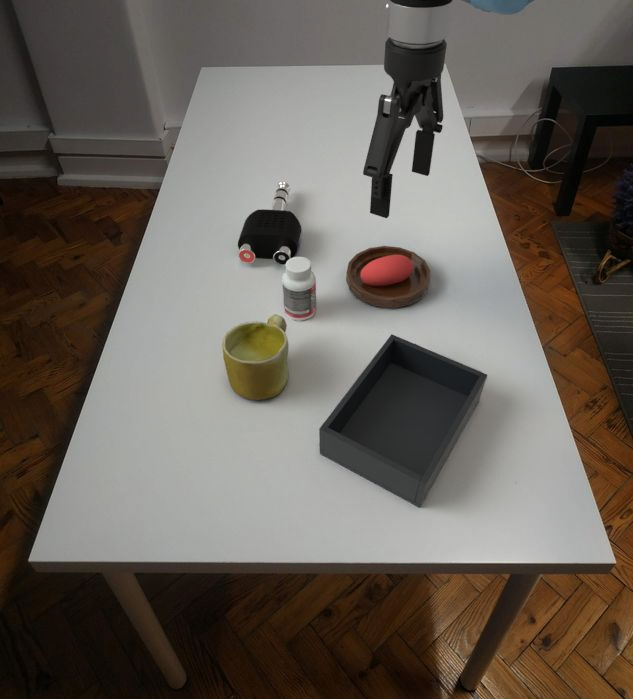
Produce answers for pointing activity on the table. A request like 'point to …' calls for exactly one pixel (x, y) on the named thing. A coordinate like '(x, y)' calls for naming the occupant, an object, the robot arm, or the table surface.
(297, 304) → the pill bottle
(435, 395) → the bin
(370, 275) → the stress ball
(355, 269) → the plate
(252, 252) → the audio adapter
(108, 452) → the table surface
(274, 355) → the mug
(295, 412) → the table surface
